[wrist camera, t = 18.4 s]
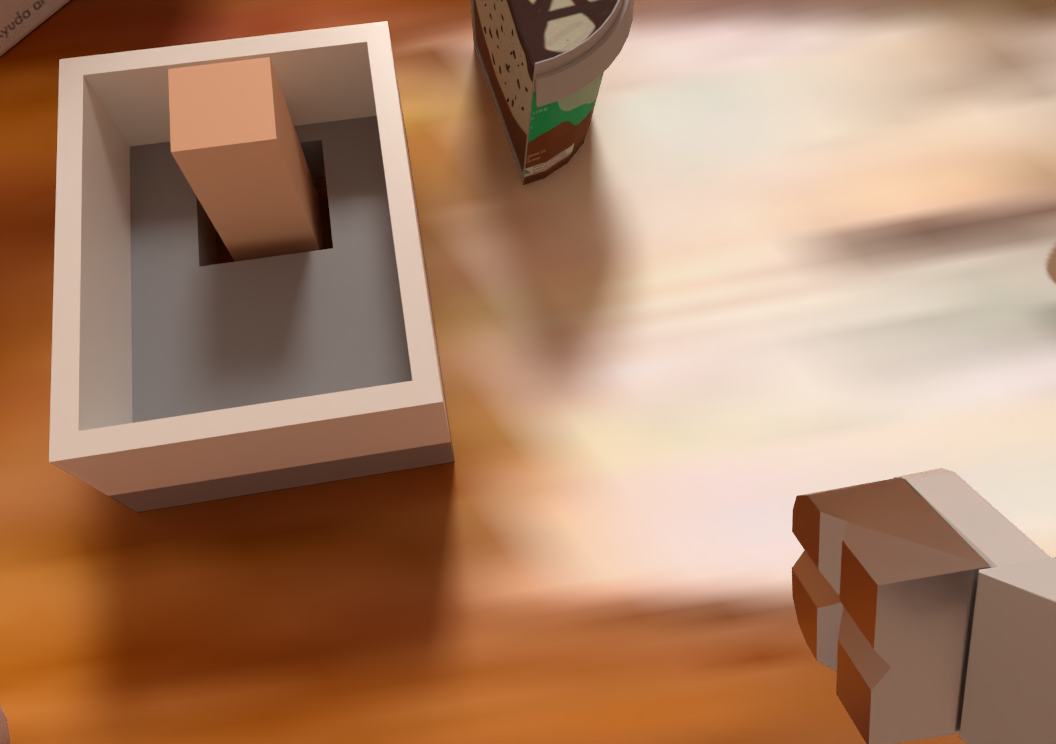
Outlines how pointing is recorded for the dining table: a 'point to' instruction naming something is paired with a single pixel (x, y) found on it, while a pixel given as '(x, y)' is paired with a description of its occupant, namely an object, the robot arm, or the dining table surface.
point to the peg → (244, 158)
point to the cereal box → (23, 18)
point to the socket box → (238, 289)
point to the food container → (547, 71)
